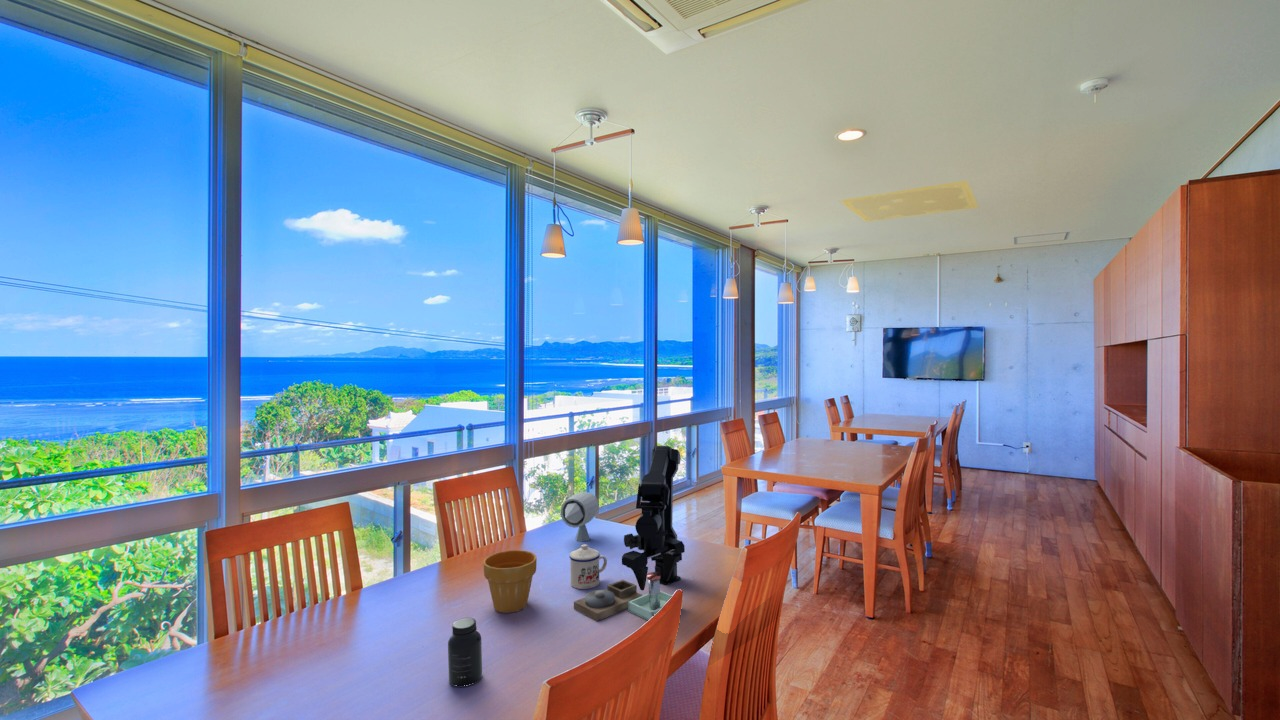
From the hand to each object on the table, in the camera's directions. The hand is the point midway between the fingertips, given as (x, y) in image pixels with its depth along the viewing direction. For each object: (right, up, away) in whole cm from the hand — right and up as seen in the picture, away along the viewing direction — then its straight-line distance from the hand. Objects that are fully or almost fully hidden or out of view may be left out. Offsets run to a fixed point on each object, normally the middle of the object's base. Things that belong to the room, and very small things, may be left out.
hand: (654, 584), depth 148 cm
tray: (0, -7, 0) cm, 7 cm away
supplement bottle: (-41, -8, -31) cm, 52 cm away
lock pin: (0, -6, 0) cm, 6 cm away
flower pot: (-39, -8, +4) cm, 40 cm away
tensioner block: (-13, -7, +3) cm, 15 cm away
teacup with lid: (-19, -7, +19) cm, 28 cm away
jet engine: (-27, -7, +57) cm, 64 cm away
